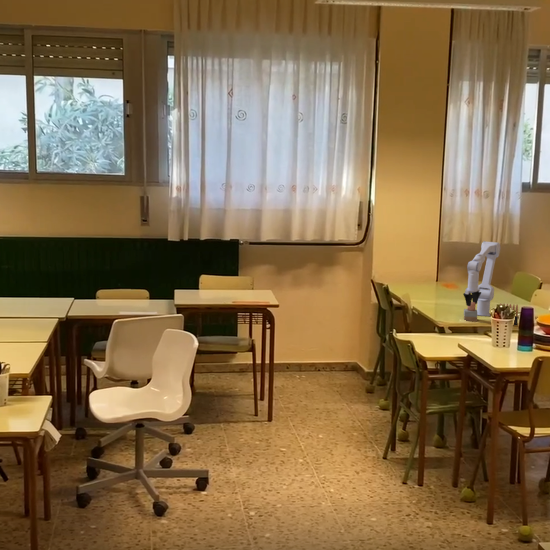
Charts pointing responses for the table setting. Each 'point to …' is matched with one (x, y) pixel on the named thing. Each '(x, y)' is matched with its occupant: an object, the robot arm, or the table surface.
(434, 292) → the table surface
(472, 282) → the robot arm
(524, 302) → the table surface
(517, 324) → the ammunition clip
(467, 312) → the tower top
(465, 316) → the tower base
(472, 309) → the pink cylinder
